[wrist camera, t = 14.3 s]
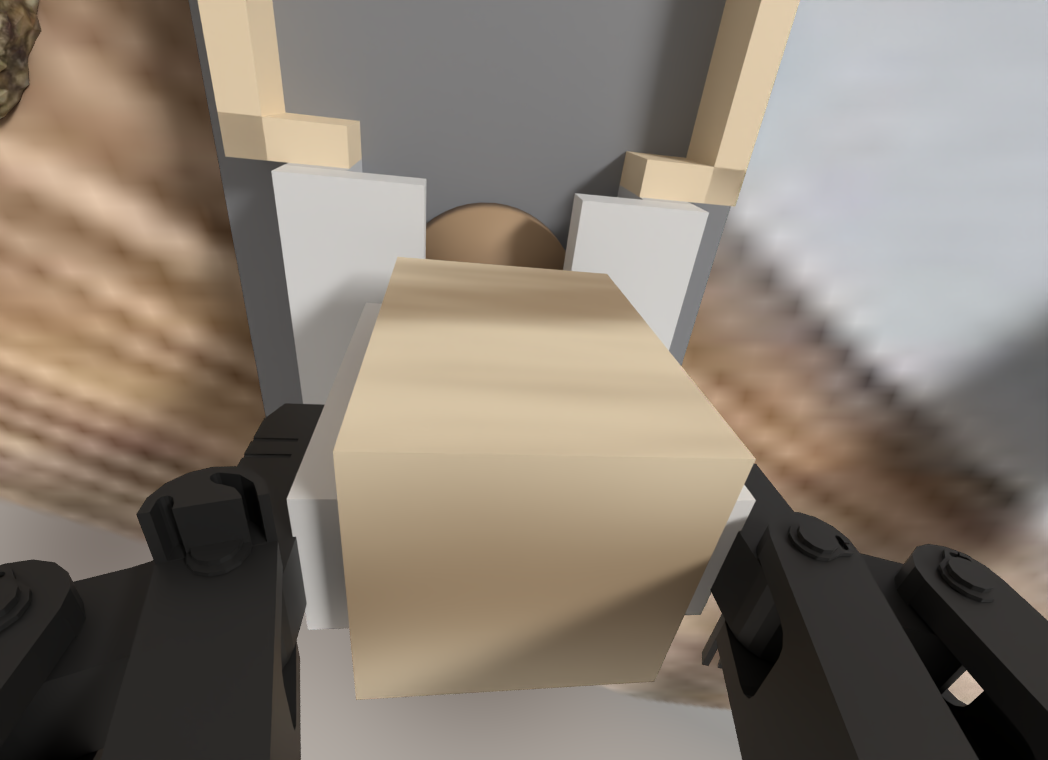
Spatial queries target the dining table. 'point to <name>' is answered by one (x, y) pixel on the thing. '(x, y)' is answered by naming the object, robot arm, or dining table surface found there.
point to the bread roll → (16, 48)
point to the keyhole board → (475, 146)
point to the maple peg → (521, 473)
